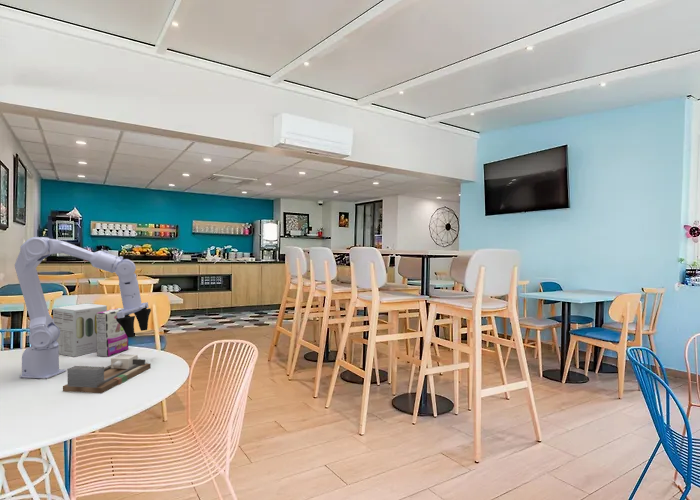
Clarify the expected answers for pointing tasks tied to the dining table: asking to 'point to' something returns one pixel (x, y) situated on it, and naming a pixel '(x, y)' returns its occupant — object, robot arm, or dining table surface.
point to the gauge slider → (126, 361)
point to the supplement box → (77, 328)
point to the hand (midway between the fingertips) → (137, 333)
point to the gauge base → (111, 378)
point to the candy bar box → (110, 334)
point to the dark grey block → (85, 376)
